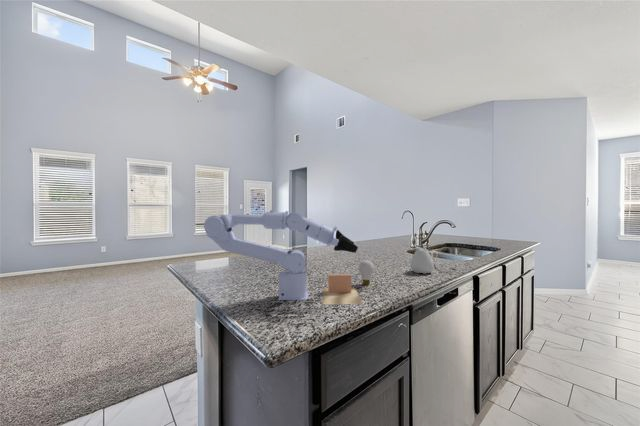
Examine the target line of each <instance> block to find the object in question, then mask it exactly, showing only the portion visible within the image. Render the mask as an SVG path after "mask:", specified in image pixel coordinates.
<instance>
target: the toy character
mask: <svg viewBox="0 0 640 426" xmlns="http://www.w3.org/2000/svg"><path fill="white" fill-rule="evenodd" d="M434 268H435V264H434V260H433V259H432V256H431V254H430V252H429V251H428V249H427V248H426V246H423V248H421V247H420V246H418V247H417V248H416V250H415V251H414V254H413V256H412V257H411V260H410V269H411V271H413V272H414V273H416V274H419V273H423V275H426V273H428V274H430V273H432V272H433V271H434Z"/></svg>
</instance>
